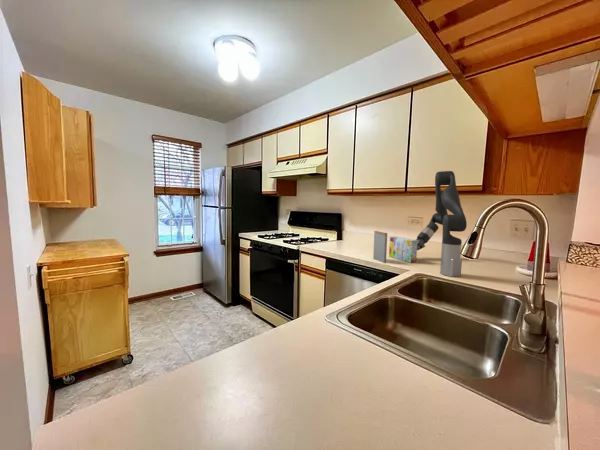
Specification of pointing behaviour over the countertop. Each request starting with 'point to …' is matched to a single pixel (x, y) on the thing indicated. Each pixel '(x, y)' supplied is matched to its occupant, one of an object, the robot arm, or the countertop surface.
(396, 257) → the snack box
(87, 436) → the countertop surface
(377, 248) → the board
